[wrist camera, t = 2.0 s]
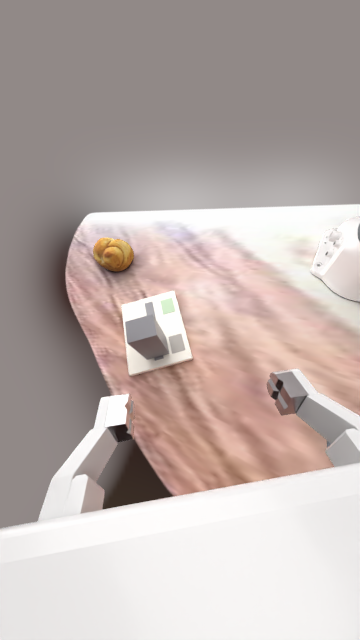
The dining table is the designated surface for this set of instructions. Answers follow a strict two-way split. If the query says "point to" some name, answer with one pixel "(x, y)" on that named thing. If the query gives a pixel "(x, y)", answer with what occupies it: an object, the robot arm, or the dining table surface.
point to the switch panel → (171, 326)
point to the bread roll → (113, 254)
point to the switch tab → (146, 337)
